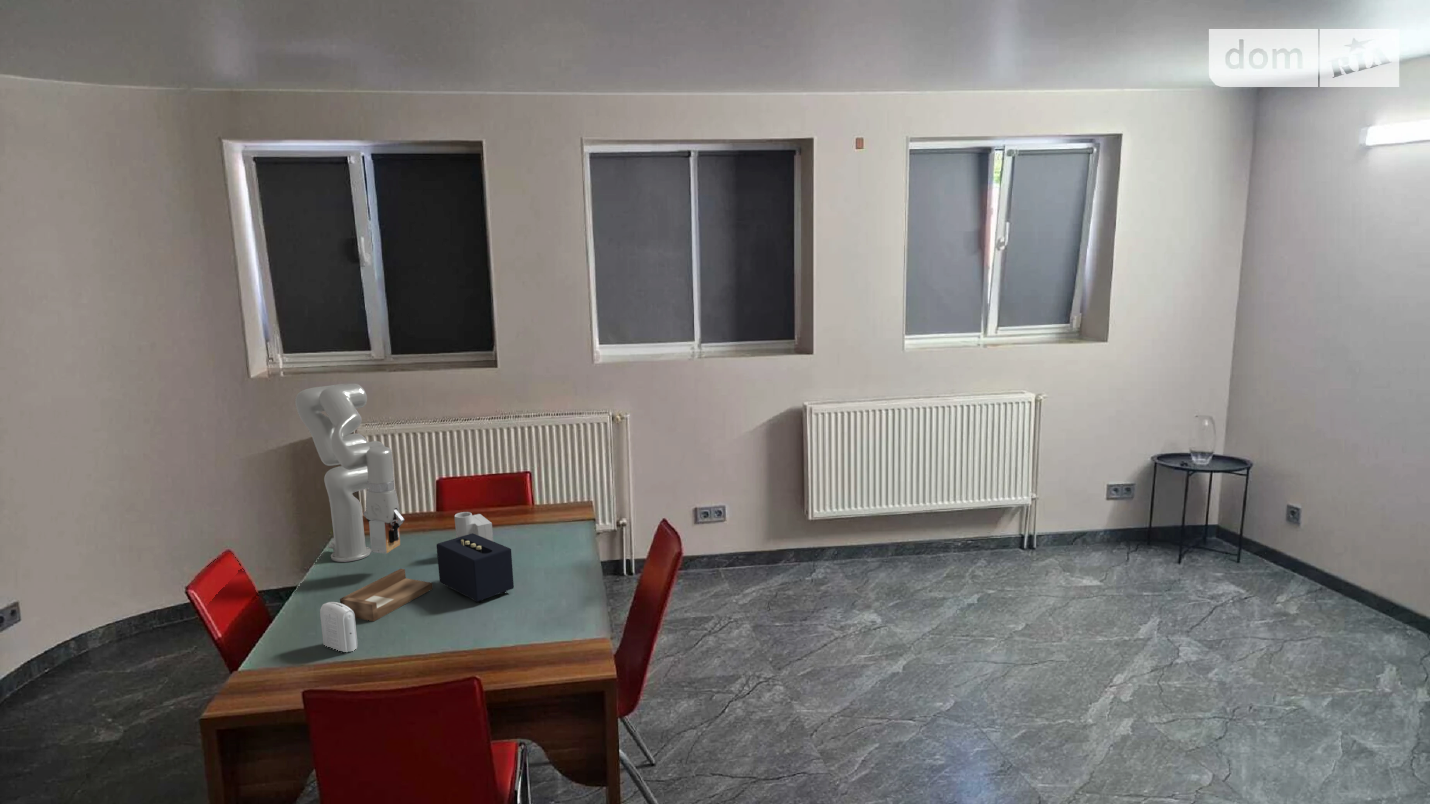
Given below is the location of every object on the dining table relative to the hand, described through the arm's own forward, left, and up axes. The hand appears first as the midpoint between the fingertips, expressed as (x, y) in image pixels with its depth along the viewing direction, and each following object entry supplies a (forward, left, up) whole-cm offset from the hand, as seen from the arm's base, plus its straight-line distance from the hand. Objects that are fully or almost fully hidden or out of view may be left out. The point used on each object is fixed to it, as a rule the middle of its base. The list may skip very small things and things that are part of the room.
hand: (385, 539), depth 265 cm
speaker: (+35, 0, -12) cm, 37 cm away
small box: (0, 0, -3) cm, 3 cm away
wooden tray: (+16, -16, -12) cm, 26 cm away
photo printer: (+25, -43, -12) cm, 52 cm away
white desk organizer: (+14, +22, -12) cm, 29 cm away
